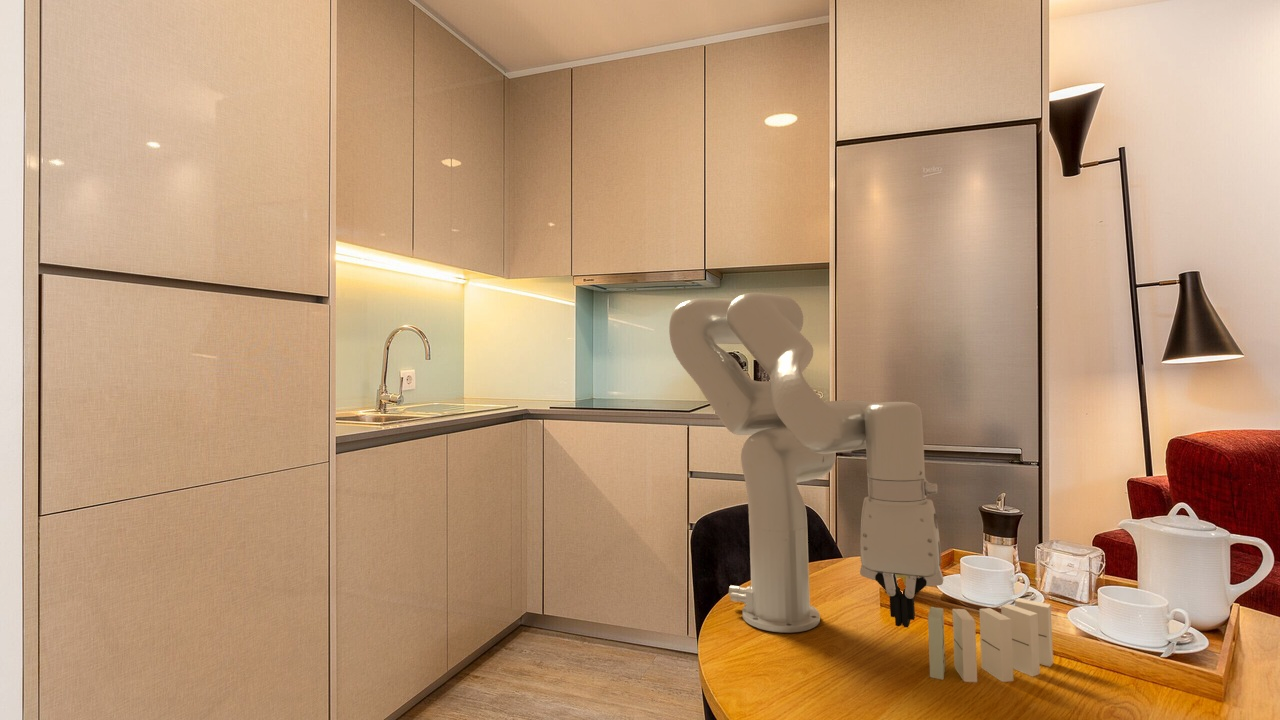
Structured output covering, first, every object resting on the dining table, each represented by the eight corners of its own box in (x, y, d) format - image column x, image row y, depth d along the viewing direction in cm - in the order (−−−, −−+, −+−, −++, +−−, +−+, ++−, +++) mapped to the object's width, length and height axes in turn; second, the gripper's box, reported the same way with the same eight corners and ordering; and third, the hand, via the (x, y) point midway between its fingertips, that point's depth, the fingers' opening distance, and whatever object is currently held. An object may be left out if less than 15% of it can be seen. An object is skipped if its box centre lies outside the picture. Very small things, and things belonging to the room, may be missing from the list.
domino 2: (1002, 681, 82) (999, 620, 82) (981, 668, 86) (979, 608, 86) (1014, 680, 82) (1011, 619, 82) (992, 666, 86) (990, 608, 86)
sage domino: (929, 677, 84) (927, 616, 84) (932, 664, 87) (930, 606, 87) (944, 679, 83) (942, 618, 83) (945, 667, 86) (944, 608, 86)
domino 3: (1032, 676, 83) (1029, 615, 83) (1003, 664, 87) (1000, 606, 87) (1040, 673, 84) (1037, 613, 84) (1011, 661, 87) (1008, 603, 88)
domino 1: (963, 681, 82) (961, 619, 82) (954, 667, 86) (952, 608, 86) (978, 682, 82) (975, 620, 82) (967, 668, 86) (965, 609, 86)
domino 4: (1050, 666, 86) (1047, 607, 86) (1017, 658, 88) (1014, 600, 89) (1053, 662, 87) (1050, 604, 87) (1020, 654, 90) (1018, 597, 90)
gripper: (957, 488, 87) (964, 622, 87) (846, 483, 95) (852, 607, 94) (954, 498, 81) (962, 643, 80) (836, 491, 88) (842, 624, 87)
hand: (903, 623), depth 87 cm, fingers closed
